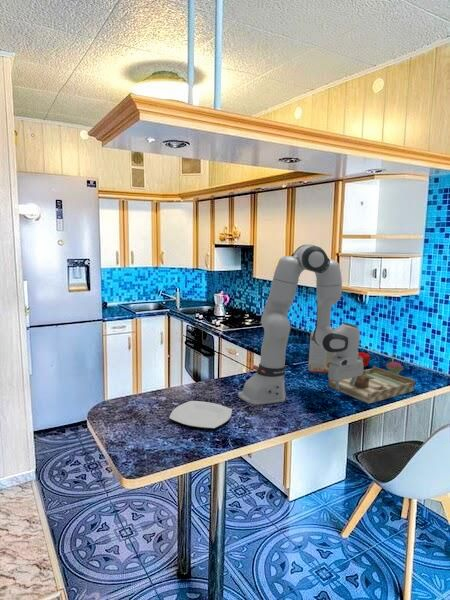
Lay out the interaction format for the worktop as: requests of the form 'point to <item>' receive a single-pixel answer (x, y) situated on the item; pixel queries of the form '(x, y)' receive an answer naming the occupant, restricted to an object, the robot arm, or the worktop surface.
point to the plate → (201, 414)
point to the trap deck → (377, 386)
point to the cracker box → (319, 358)
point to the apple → (364, 358)
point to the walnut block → (362, 382)
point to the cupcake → (394, 367)
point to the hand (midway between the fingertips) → (345, 386)
